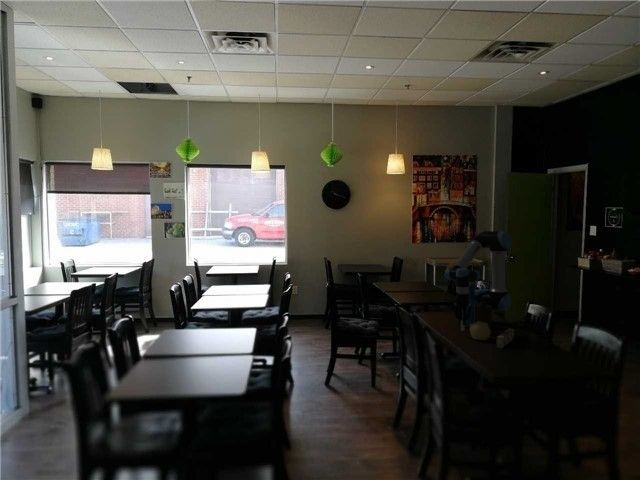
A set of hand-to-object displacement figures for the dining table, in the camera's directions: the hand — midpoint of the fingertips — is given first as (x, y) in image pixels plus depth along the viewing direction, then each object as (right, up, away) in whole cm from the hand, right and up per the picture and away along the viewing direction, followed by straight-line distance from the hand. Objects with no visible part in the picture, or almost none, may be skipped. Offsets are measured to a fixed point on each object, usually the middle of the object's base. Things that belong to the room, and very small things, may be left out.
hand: (462, 330), depth 289 cm
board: (+21, -4, -16) cm, 26 cm away
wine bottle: (+15, -2, +27) cm, 31 cm away
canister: (+16, -3, +9) cm, 19 cm away
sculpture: (+9, -4, -7) cm, 12 cm away
